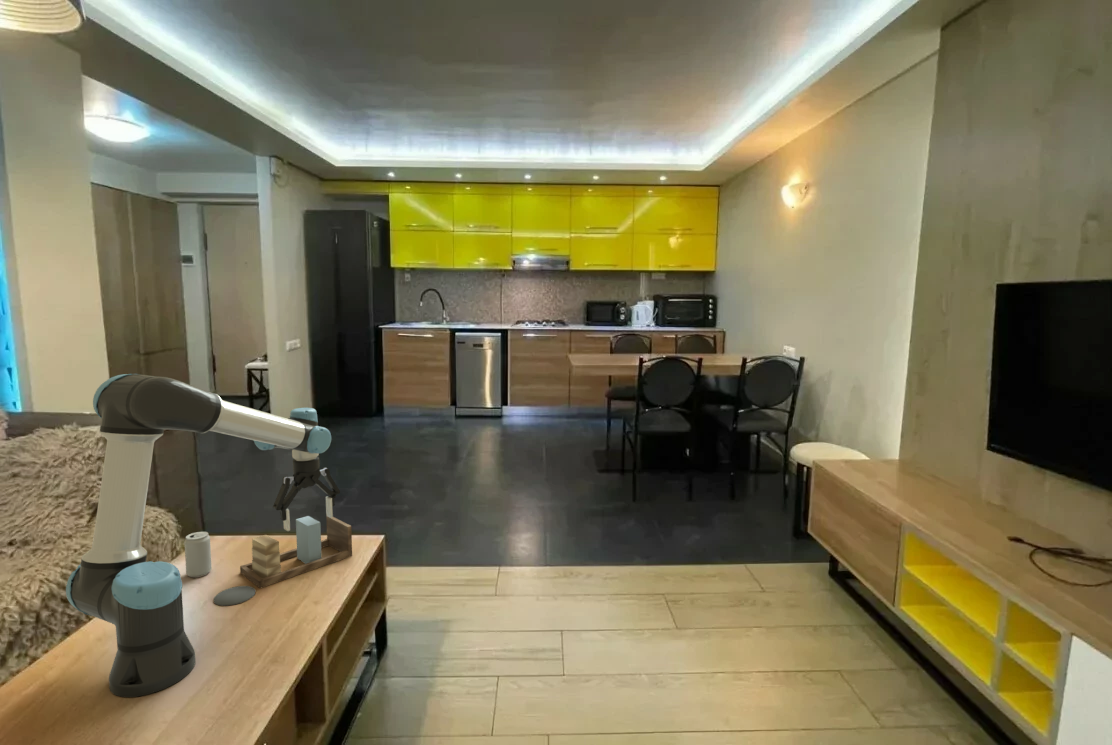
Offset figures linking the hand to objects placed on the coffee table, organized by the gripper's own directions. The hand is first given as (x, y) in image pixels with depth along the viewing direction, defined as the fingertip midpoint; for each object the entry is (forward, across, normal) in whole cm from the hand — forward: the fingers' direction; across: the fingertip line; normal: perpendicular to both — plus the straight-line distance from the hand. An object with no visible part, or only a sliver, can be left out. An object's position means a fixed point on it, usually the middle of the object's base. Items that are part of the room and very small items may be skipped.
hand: (308, 523), depth 173 cm
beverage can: (+12, -26, +15) cm, 33 cm away
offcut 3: (+12, -13, 0) cm, 18 cm away
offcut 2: (+8, -13, 0) cm, 16 cm away
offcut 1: (+4, -13, 0) cm, 14 cm away
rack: (+12, -4, 0) cm, 13 cm away
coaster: (+12, -24, -7) cm, 28 cm away
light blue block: (+12, 0, 0) cm, 12 cm away
